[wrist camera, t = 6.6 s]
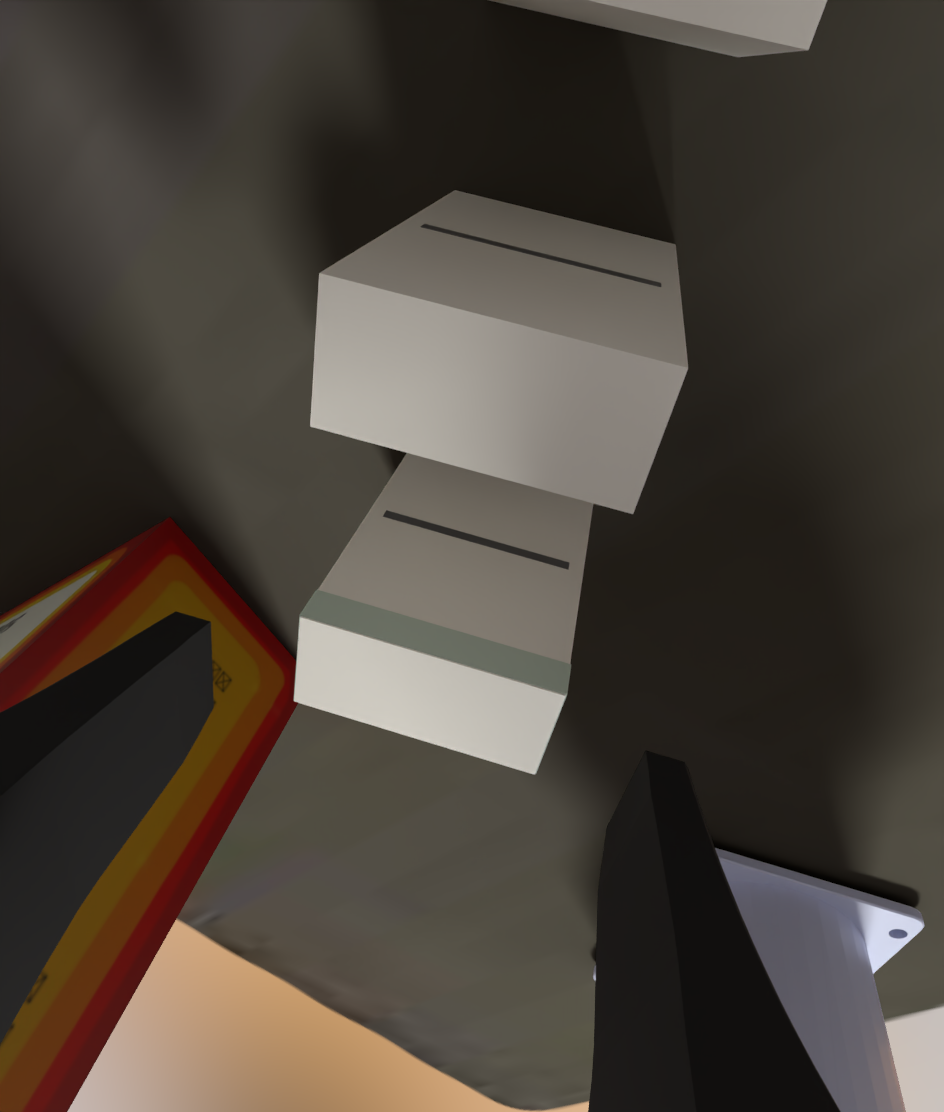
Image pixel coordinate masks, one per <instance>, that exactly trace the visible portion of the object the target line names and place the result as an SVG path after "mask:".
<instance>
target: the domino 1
mask: <svg viewBox="0 0 944 1112" xmlns="http://www.w3.org/2000/svg"><path fill="white" fill-rule="evenodd" d="M489 1H493V2H498V3H502V4H507V5H511V6H515V7H520V8H524V9H528V10H533V11H537V12H542V13H546V14H550V15H555V16H559V17H564V18H568V19H572V20H577V21H581V22H585V23H590V24H594V25H599V26H603V27H607V28H612V29H616V30H620V31H625V32H629V33H634V34H638V35H642V36H647V37H651V38H655V39H660V40H664V41H669V42H673V43H677V44H682V45H686V46H691V47H695V48H699V49H704V50H708V51H712V52H717V53H721V54H726V55H730V56H734V57H746V56H756V55H766V54H776V53H786V52H796V51H806V50H809V47H810V45H811V42H812V39H813V37H814V34H815V31H816V29H817V26H818V24H819V21H820V18H821V16H822V13H823V10H824V8H825V5H826V2H827V0H489Z"/></svg>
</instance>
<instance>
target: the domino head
mask: <svg viewBox="0 0 944 1112" xmlns="http://www.w3.org/2000/svg"><path fill="white" fill-rule="evenodd" d="M592 510H593V503H590V502H586V501H582V500H579V499H575V498H571V497H568V496H564V495H560V494H557V493H553V492H549V491H546V490H542V489H538V488H535V487H531V486H527V485H524V484H520V483H516V482H513V481H509V480H505V479H502V478H498V477H494V476H491V475H487V474H483V473H479V472H476V471H472V470H468V469H465V468H461V467H457V466H454V465H450V464H446V463H443V462H439V461H435V460H432V459H428V458H424V457H421V456H417V455H413V454H410V453H407V454H406V455H405V457H404V458H403V460H402V461H401V463H400V464H399V466H398V467H397V469H396V471H395V472H394V474H393V475H392V477H391V478H390V480H389V481H388V483H387V484H386V486H385V487H384V489H383V491H382V492H381V494H380V495H379V497H378V498H377V500H376V501H375V503H374V504H373V506H372V507H371V509H370V511H369V512H368V514H367V515H366V517H365V518H364V520H363V521H362V523H361V524H360V526H359V527H358V529H357V531H356V532H355V534H354V535H353V537H352V538H351V540H350V541H349V543H348V544H347V546H346V547H345V549H344V551H343V552H342V554H341V555H340V557H339V558H338V560H337V561H336V563H335V564H334V566H333V567H332V569H331V570H330V572H329V574H328V575H327V577H326V578H325V580H324V581H323V583H322V584H321V586H320V587H319V589H318V590H317V589H316V591H315V592H314V594H313V595H312V597H311V598H310V600H309V601H308V603H307V604H306V606H305V608H304V609H303V611H302V612H301V614H300V618H299V632H298V646H297V660H296V673H295V687H294V702H298V703H301V704H304V705H308V706H311V707H314V708H317V709H321V710H324V711H327V712H331V713H334V714H337V715H340V716H344V717H347V718H350V719H354V720H357V721H360V722H363V723H367V724H370V725H373V726H376V727H380V728H383V729H386V730H390V731H393V732H396V733H399V734H403V735H406V736H409V737H413V738H416V739H419V740H422V741H426V742H429V743H432V744H436V745H439V746H442V747H445V748H449V749H452V750H455V751H459V752H462V753H465V754H468V755H472V756H475V757H478V758H482V759H485V760H488V761H491V762H495V763H498V764H501V765H504V766H508V767H511V768H514V769H518V770H521V771H524V772H527V773H531V774H534V775H535V774H536V772H537V770H538V767H539V765H540V762H541V760H542V757H543V754H544V752H545V749H546V747H547V744H548V742H549V739H550V737H551V734H552V732H553V729H554V727H555V724H556V722H557V719H558V717H559V714H560V711H561V709H562V706H563V704H564V701H565V699H566V696H567V693H568V686H569V679H570V672H571V665H572V664H570V662H571V655H572V648H573V641H574V634H575V627H576V620H577V613H578V606H579V600H580V593H581V586H582V579H583V572H584V565H585V558H586V551H587V544H588V537H589V531H590V524H591V517H592Z"/></svg>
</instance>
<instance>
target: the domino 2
mask: <svg viewBox="0 0 944 1112" xmlns="http://www.w3.org/2000/svg"><path fill="white" fill-rule="evenodd" d="M687 370H688V360H687V350H686V340H685V330H684V321H683V311H682V301H681V291H680V282H679V272H678V262H677V252H676V244H672V243H668V242H664V241H660V240H656V239H651V238H647V237H643V236H639V235H635V234H631V233H627V232H623V231H619V230H615V229H611V228H607V227H603V226H599V225H595V224H591V223H587V222H583V221H578V220H574V219H570V218H566V217H562V216H558V215H554V214H550V213H546V212H542V211H538V210H534V209H530V208H526V207H522V206H518V205H514V204H510V203H505V202H501V201H497V200H493V199H489V198H485V197H481V196H477V195H473V194H469V193H465V192H461V191H457V190H454V191H453V192H451V193H449V194H448V195H446V196H444V197H443V198H441V199H440V200H438V201H436V202H435V203H433V204H431V205H430V206H428V207H426V208H425V209H423V210H422V211H420V212H418V213H417V214H415V215H413V216H412V217H410V218H408V219H407V220H405V221H404V222H402V223H400V224H399V225H397V226H395V227H394V228H392V229H390V230H389V231H387V232H386V233H384V234H382V235H381V236H379V237H377V238H376V239H374V240H372V241H371V242H369V243H368V244H366V245H364V246H363V247H361V248H359V249H358V250H356V251H354V252H353V253H351V254H350V255H348V256H346V257H345V258H343V259H341V260H340V261H338V262H336V263H335V264H333V265H332V266H330V267H328V268H327V269H325V270H323V271H322V272H320V273H319V285H318V302H317V319H316V336H315V353H314V370H313V387H312V404H311V421H310V427H314V428H318V429H321V430H325V431H329V432H332V433H336V434H340V435H343V436H347V437H351V438H354V439H358V440H362V441H366V442H369V443H373V444H377V445H380V446H384V447H388V448H391V449H395V450H399V451H402V452H406V453H410V454H413V455H417V456H421V457H424V458H428V459H432V460H435V461H439V462H443V463H446V464H450V465H454V466H457V467H461V468H465V469H468V470H472V471H476V472H479V473H483V474H487V475H491V476H494V477H498V478H502V479H505V480H509V481H513V482H516V483H520V484H524V485H527V486H531V487H535V488H538V489H542V490H546V491H549V492H553V493H557V494H560V495H564V496H568V497H571V498H575V499H579V500H582V501H586V502H590V503H593V504H597V505H601V506H604V507H608V508H612V509H615V510H619V511H623V512H627V513H630V514H633V513H634V510H635V508H636V505H637V502H638V500H639V497H640V495H641V492H642V489H643V487H644V484H645V481H646V479H647V476H648V473H649V471H650V468H651V465H652V463H653V460H654V458H655V455H656V452H657V450H658V447H659V444H660V442H661V439H662V436H663V434H664V431H665V428H666V426H667V423H668V421H669V418H670V415H671V413H672V410H673V407H674V405H675V402H676V399H677V397H678V394H679V391H680V389H681V386H682V384H683V381H684V378H685V376H686V373H687Z"/></svg>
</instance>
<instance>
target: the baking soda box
mask: <svg viewBox="0 0 944 1112" xmlns="http://www.w3.org/2000/svg"><path fill="white" fill-rule="evenodd" d="M176 611H177V612H180V613H183V614H187V615H190V616H194V617H197V618H200V619H204V620H207V621H210V622H211V639H212V669H213V699H214V708H213V710H212V712H211V713H210V715H209V717H208V719H207V721H206V723H205V725H204V726H203V728H202V730H201V732H200V734H199V736H198V738H197V739H196V741H195V743H194V745H193V746H192V748H191V750H190V752H189V753H188V755H187V757H186V759H185V760H184V762H183V764H182V765H181V766H180V768H179V769H178V771H177V772H176V774H175V775H174V776H173V778H172V779H171V781H170V782H169V783H168V785H167V786H166V788H165V789H164V790H163V792H162V793H161V794H160V796H159V797H158V799H157V800H156V801H155V803H154V804H153V806H152V807H151V808H150V810H149V811H148V812H147V814H146V815H145V817H144V818H143V819H142V821H141V822H140V823H139V825H138V826H137V828H136V829H135V830H134V832H133V833H132V834H131V836H130V837H129V839H128V840H127V841H126V843H125V844H124V845H123V847H122V848H121V850H120V851H119V852H118V854H117V855H116V856H115V858H114V859H113V861H112V862H111V863H110V865H109V866H108V867H107V869H106V870H105V872H104V873H103V874H102V876H101V877H100V878H99V880H98V881H97V883H96V884H95V886H94V887H93V889H92V890H91V892H90V893H89V895H88V896H87V898H86V899H85V901H84V902H83V904H82V905H81V907H80V908H79V910H78V911H77V913H76V915H75V916H74V918H73V920H72V921H71V923H70V925H69V926H68V928H67V930H66V931H65V933H64V935H63V936H62V938H61V940H60V941H59V943H58V945H57V946H56V948H55V950H54V951H53V953H52V955H51V957H50V958H49V960H48V962H47V963H46V965H45V967H44V968H43V970H42V972H41V974H40V975H39V977H38V979H37V981H36V982H35V984H34V986H33V988H32V989H31V991H30V993H29V995H28V996H27V998H26V1000H25V1002H24V1003H23V1005H22V1007H21V1009H20V1010H19V1012H18V1014H17V1016H16V1017H15V1019H14V1021H13V1023H12V1024H11V1026H10V1028H9V1030H8V1032H7V1033H6V1035H5V1037H4V1039H3V1041H2V1042H1V1044H0V1112H67V1111H68V1109H69V1108H70V1106H71V1104H72V1102H73V1101H74V1099H75V1097H76V1095H77V1093H78V1092H79V1090H80V1088H81V1086H82V1085H83V1083H84V1081H85V1079H86V1078H87V1076H88V1074H89V1072H90V1070H91V1069H92V1067H93V1065H94V1063H95V1062H96V1060H97V1058H98V1056H99V1054H100V1053H101V1051H102V1049H103V1047H104V1046H105V1044H106V1042H107V1040H108V1039H109V1037H110V1035H111V1033H112V1032H113V1030H114V1028H115V1026H116V1024H117V1023H118V1021H119V1019H120V1017H121V1015H122V1014H123V1012H124V1010H125V1009H126V1007H127V1005H128V1003H129V1001H130V1000H131V998H132V996H133V994H134V993H135V991H136V989H137V987H138V985H139V984H140V982H141V980H142V978H143V977H144V975H145V973H146V971H147V970H148V968H149V966H150V964H151V962H152V961H153V959H154V957H155V955H156V954H157V952H158V950H159V948H160V947H161V945H162V943H163V941H164V939H165V938H166V936H167V934H168V932H169V931H170V929H171V927H172V925H173V923H174V922H175V920H176V918H177V917H178V915H179V913H180V911H181V909H182V908H183V906H184V904H185V902H186V901H187V899H188V897H189V895H190V894H191V892H192V890H193V888H194V886H195V885H196V883H197V881H198V879H199V878H200V876H201V874H202V872H203V871H204V869H205V867H206V865H207V863H208V862H209V860H210V858H211V856H212V855H213V853H214V851H215V849H216V848H217V846H218V844H219V842H220V840H221V839H222V837H223V835H224V833H225V832H226V830H227V828H228V826H229V825H230V823H231V821H232V819H233V817H234V816H235V814H236V812H237V810H238V809H239V807H240V805H241V803H242V802H243V800H244V798H245V796H246V794H247V793H248V791H249V789H250V787H251V786H252V784H253V782H254V780H255V779H256V777H257V775H258V773H259V771H260V770H261V768H262V766H263V764H264V763H265V761H266V759H267V757H268V756H269V754H270V752H271V750H272V748H273V747H274V745H275V743H276V741H277V740H278V738H279V736H280V734H281V733H282V731H283V729H284V727H285V725H286V724H287V722H288V720H289V718H290V717H291V715H292V713H293V711H294V710H295V708H296V706H297V704H298V702H294V687H295V673H296V660H295V659H294V658H293V657H292V655H291V654H290V653H289V652H288V651H287V650H286V649H285V647H284V646H283V645H282V644H281V643H280V642H279V641H278V639H277V638H276V637H275V636H274V635H273V634H272V633H271V632H270V630H269V629H268V628H267V627H266V626H265V625H264V624H263V622H262V621H261V620H260V619H259V618H258V617H257V616H256V614H255V613H254V612H253V611H252V610H251V609H250V608H249V606H248V605H247V604H246V603H245V602H244V601H243V600H242V598H241V597H240V596H239V595H238V594H237V593H236V592H235V590H234V589H233V588H232V587H231V586H230V585H229V584H228V583H227V581H226V580H225V579H224V578H223V577H222V576H221V575H220V573H219V572H218V571H217V570H216V569H215V568H214V567H213V565H212V564H211V563H210V562H209V561H208V560H207V559H206V557H205V556H204V555H203V554H202V553H201V552H200V551H199V549H198V548H197V547H196V546H195V545H194V544H193V543H192V541H191V540H190V539H189V538H188V537H187V536H186V535H185V533H184V532H183V531H182V530H181V529H180V528H179V527H178V526H177V524H176V523H175V522H174V521H173V520H172V519H171V518H170V517H169V518H167V519H165V520H164V521H162V522H160V523H158V524H157V525H155V526H153V527H152V528H150V529H148V530H146V531H145V532H143V533H141V534H140V535H138V536H136V537H134V538H133V539H131V540H129V541H128V542H126V543H124V544H122V545H121V546H119V547H117V548H116V549H114V550H112V551H111V552H109V553H107V554H105V555H104V556H102V557H100V558H99V559H97V560H95V561H93V562H92V563H90V564H88V565H87V566H85V567H83V568H81V569H80V570H78V571H76V572H75V573H73V574H71V575H69V576H68V577H66V578H64V579H63V580H61V581H59V582H57V583H56V584H54V585H52V586H51V587H49V588H47V589H45V590H44V591H42V592H40V593H39V594H37V595H35V596H33V597H32V598H30V599H28V600H27V601H25V602H23V603H22V604H20V605H18V606H16V607H15V608H13V609H11V610H10V611H8V612H6V613H4V614H3V615H1V616H0V712H2V711H4V710H6V709H8V708H10V707H12V706H13V705H15V704H17V703H19V702H21V701H23V700H25V699H27V698H29V697H31V696H32V695H34V694H36V693H38V692H40V691H41V690H43V689H45V688H47V687H49V686H50V685H52V684H54V683H55V682H57V681H59V680H61V679H62V678H64V677H66V676H68V675H69V674H71V673H73V672H75V671H76V670H78V669H80V668H81V667H83V666H85V665H87V664H88V663H90V662H92V661H94V660H95V659H97V658H99V657H100V656H102V655H104V654H105V653H107V652H109V651H110V650H112V649H113V648H115V647H117V646H118V645H120V644H122V643H123V642H125V641H127V640H128V639H130V638H132V637H133V636H135V635H137V634H138V633H140V632H142V631H143V630H145V629H146V628H148V627H150V626H151V625H153V624H155V623H156V622H158V621H160V620H162V619H163V618H165V617H167V616H168V615H170V614H172V613H174V612H176Z"/></svg>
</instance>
